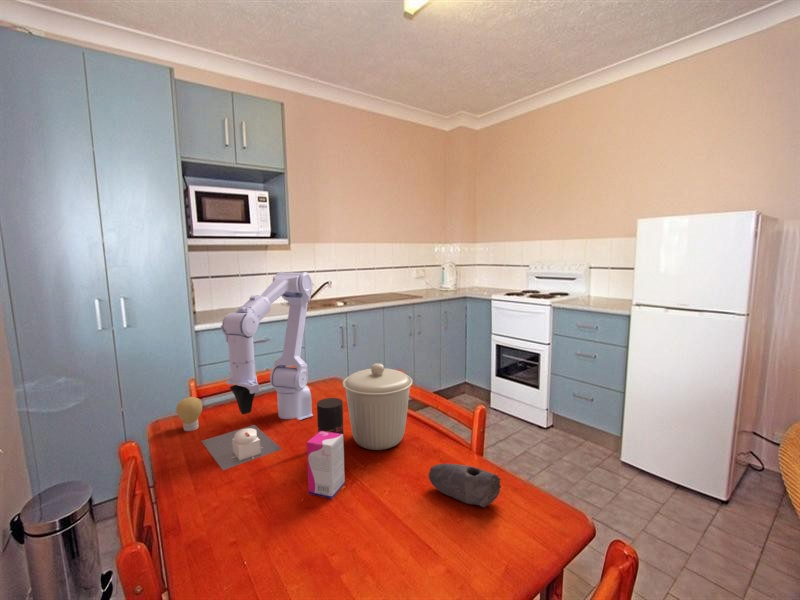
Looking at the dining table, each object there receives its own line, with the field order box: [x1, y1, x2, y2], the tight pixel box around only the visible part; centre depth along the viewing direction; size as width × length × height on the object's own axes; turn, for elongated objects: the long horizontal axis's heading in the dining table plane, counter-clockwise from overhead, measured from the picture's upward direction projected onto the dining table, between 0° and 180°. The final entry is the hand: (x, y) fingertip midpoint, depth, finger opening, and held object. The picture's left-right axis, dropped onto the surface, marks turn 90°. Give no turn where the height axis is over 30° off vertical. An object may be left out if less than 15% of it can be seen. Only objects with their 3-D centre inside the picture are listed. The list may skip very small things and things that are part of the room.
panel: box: [200, 424, 282, 471], centre depth 98 cm, size 14×18×4 cm
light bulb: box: [175, 396, 204, 432], centre depth 108 cm, size 6×6×10 cm
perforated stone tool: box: [428, 463, 502, 509], centre depth 79 cm, size 15×5×7 cm, turn 58°
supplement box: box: [306, 431, 346, 500], centre depth 82 cm, size 6×6×12 cm
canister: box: [342, 362, 413, 451], centre depth 101 cm, size 18×18×21 cm
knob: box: [232, 428, 261, 460], centre depth 94 cm, size 5×5×5 cm
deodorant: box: [316, 397, 345, 445], centre depth 91 cm, size 6×6×15 cm
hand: (245, 412), depth 98 cm, fingers closed
